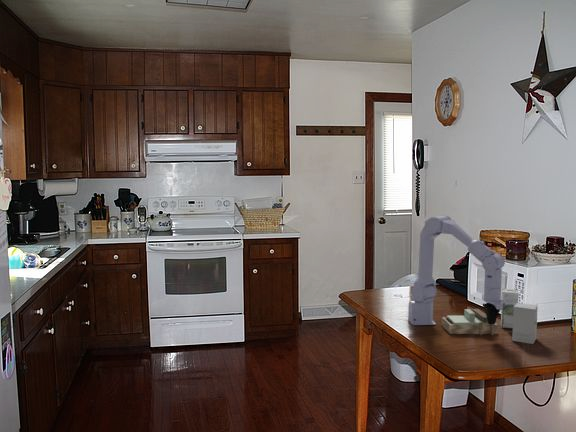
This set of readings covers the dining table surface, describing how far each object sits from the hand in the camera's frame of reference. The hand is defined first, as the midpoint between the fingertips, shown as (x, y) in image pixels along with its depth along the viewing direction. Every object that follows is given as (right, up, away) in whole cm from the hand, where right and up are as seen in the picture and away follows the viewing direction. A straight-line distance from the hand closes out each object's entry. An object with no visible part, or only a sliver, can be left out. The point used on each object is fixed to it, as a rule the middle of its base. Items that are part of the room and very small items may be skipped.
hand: (491, 323), depth 195 cm
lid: (-5, -1, +11) cm, 12 cm away
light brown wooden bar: (0, 0, +10) cm, 10 cm away
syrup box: (+12, -4, +15) cm, 20 cm away
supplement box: (+11, -6, -1) cm, 13 cm away
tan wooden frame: (-5, -5, +11) cm, 13 cm away
